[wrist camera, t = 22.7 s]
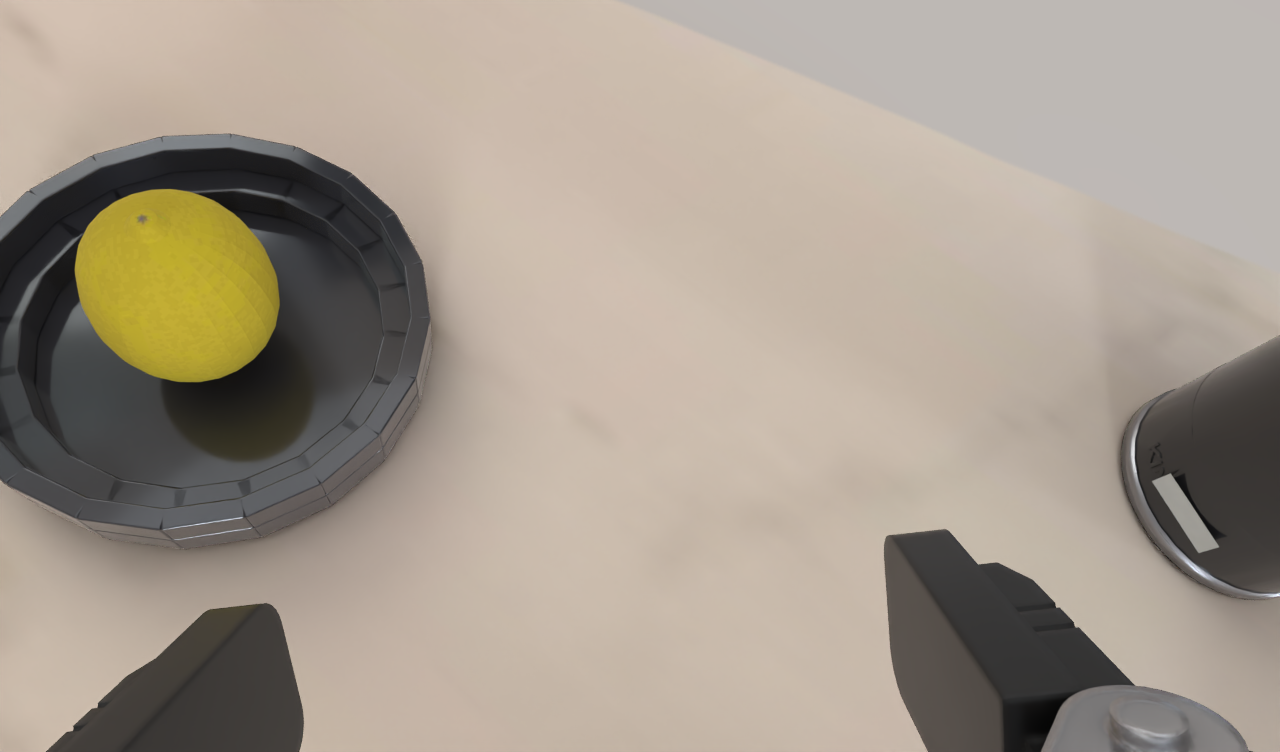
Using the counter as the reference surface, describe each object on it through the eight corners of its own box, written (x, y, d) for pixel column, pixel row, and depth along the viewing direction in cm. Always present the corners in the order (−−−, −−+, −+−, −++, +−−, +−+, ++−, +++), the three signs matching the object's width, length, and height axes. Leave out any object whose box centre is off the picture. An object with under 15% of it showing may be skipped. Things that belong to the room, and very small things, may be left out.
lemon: (115, 306, 30) (10, 164, 23) (272, 264, 32) (220, 121, 25) (153, 439, 29) (52, 330, 22) (317, 386, 31) (274, 270, 23)
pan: (408, 174, 36) (404, 126, 33) (454, 511, 30) (453, 486, 27) (2, 195, 32) (-40, 142, 29) (-34, 588, 26) (-90, 567, 23)
